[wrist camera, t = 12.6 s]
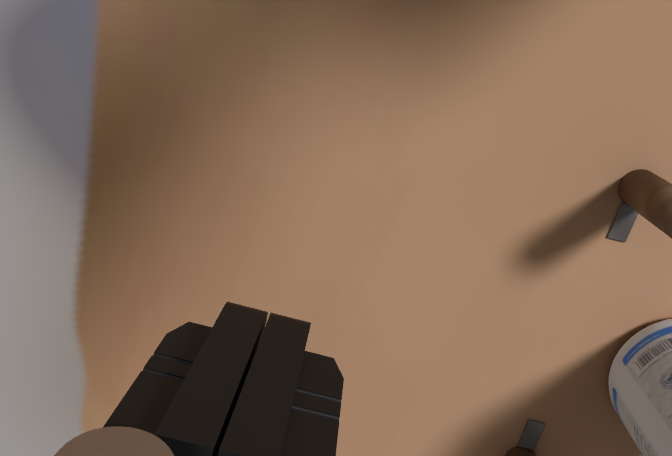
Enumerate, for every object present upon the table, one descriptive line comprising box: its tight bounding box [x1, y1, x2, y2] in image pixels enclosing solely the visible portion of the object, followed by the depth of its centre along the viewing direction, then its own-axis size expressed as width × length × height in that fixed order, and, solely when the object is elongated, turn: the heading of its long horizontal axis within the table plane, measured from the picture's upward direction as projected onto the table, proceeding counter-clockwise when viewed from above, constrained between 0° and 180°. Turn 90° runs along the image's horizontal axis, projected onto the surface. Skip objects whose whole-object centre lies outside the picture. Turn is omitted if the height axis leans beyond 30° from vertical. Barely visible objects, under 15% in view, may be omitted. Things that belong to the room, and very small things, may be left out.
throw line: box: [505, 169, 672, 456], centre depth 38 cm, size 24×2×8 cm, turn 166°
